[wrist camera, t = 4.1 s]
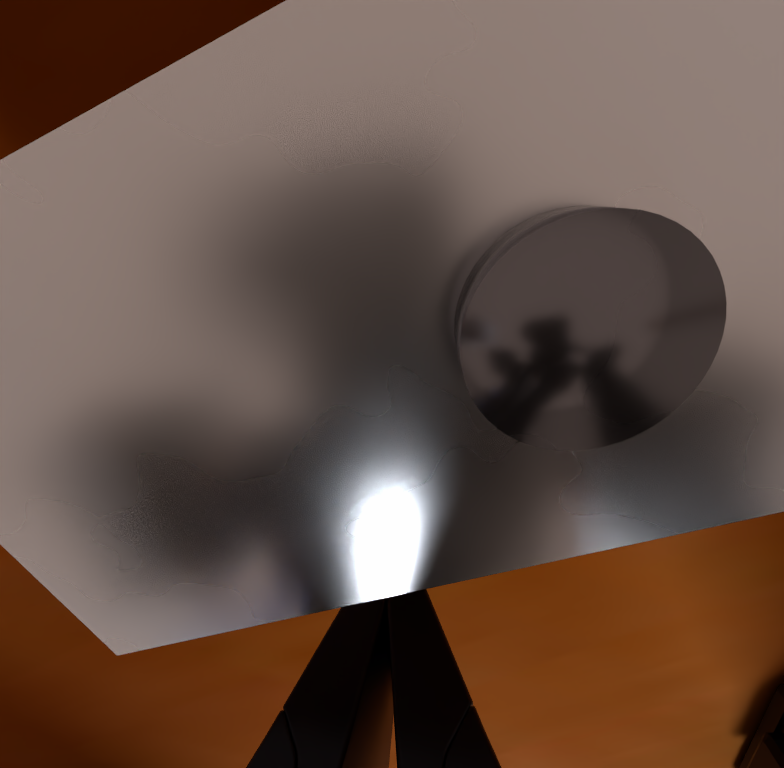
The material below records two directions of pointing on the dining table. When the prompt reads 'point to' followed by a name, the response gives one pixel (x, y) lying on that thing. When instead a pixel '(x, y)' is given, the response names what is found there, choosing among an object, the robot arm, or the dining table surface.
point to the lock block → (394, 307)
